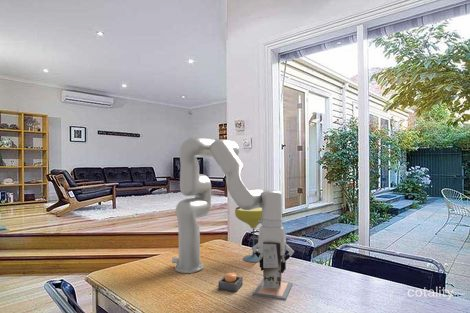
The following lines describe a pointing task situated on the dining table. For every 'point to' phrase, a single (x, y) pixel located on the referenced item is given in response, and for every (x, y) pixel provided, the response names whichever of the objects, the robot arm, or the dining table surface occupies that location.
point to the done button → (230, 277)
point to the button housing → (230, 285)
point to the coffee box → (271, 265)
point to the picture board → (273, 291)
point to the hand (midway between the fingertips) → (272, 270)
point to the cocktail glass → (252, 220)
